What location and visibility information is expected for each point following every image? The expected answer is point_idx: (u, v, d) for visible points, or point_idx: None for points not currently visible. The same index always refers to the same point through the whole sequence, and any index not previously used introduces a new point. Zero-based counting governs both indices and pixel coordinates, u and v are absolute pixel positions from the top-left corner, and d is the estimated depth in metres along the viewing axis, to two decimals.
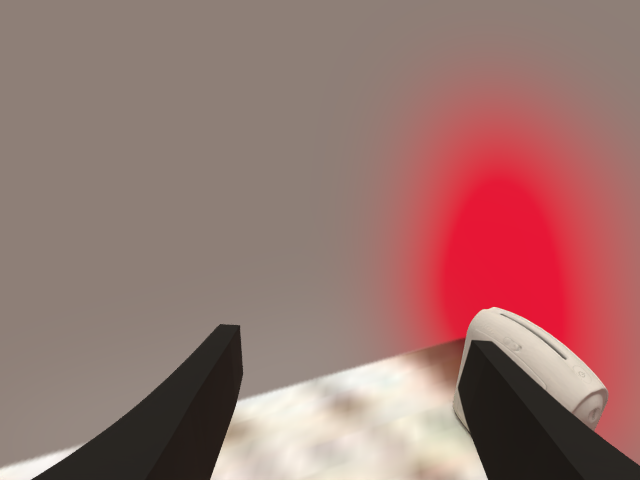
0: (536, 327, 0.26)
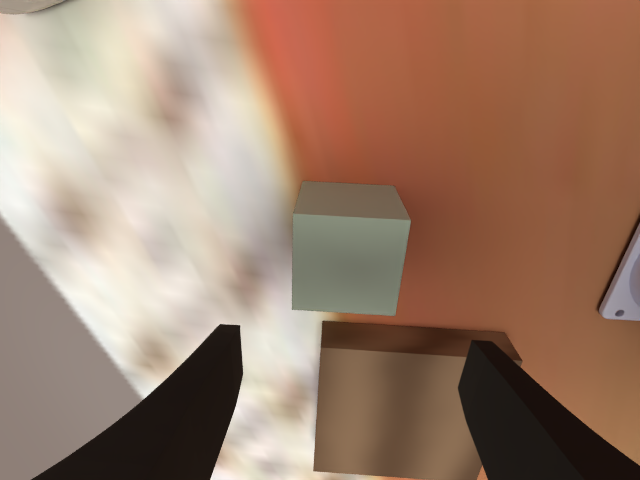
0: None
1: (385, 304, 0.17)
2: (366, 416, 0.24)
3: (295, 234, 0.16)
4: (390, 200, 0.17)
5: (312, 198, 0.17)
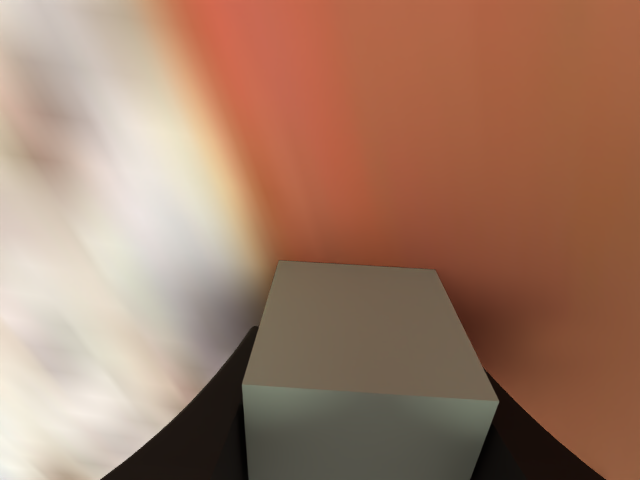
0: None
1: None
2: None
3: (250, 418, 0.07)
4: (439, 319, 0.09)
5: (290, 317, 0.09)
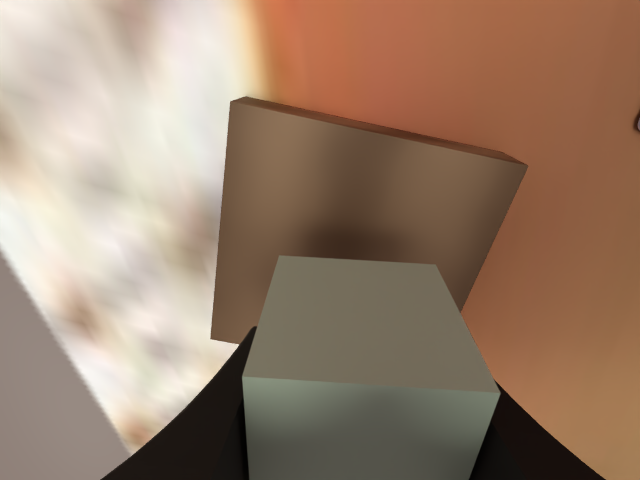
0: None
1: None
2: (290, 247, 0.16)
3: (250, 411, 0.07)
4: (440, 313, 0.09)
5: (290, 311, 0.09)
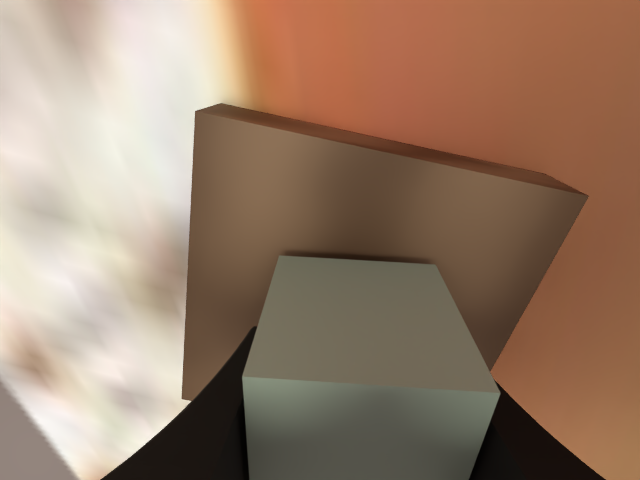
0: None
1: None
2: None
3: (250, 411, 0.07)
4: (440, 313, 0.09)
5: (290, 311, 0.09)
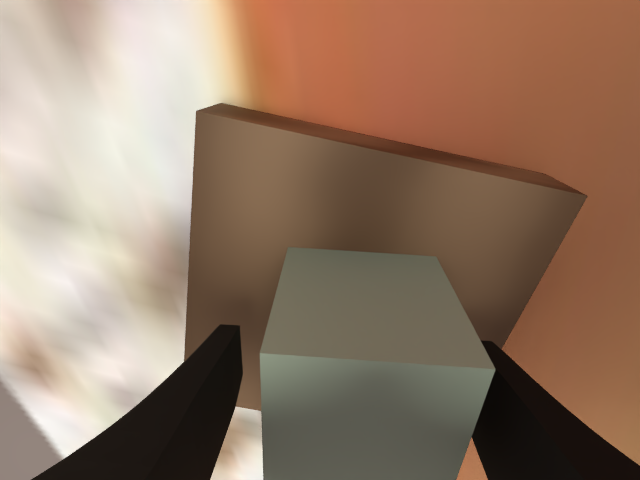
0: None
1: None
2: None
3: (266, 386, 0.08)
4: (440, 300, 0.10)
5: (301, 297, 0.10)
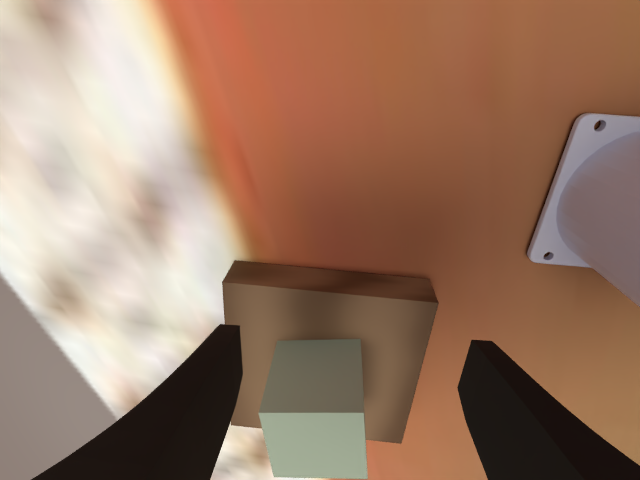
0: None
1: (356, 471, 0.18)
2: None
3: (264, 426, 0.17)
4: (351, 372, 0.19)
5: (280, 377, 0.19)
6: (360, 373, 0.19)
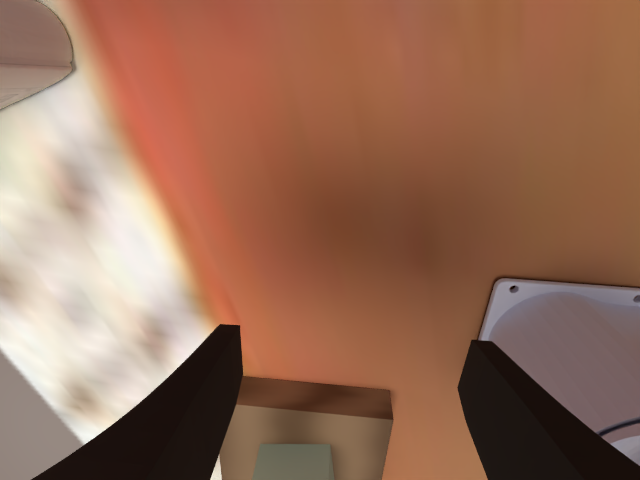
0: None
1: None
2: None
3: None
4: None
5: None
6: None
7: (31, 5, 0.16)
